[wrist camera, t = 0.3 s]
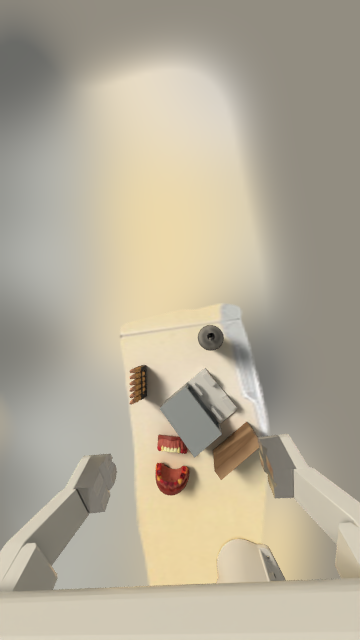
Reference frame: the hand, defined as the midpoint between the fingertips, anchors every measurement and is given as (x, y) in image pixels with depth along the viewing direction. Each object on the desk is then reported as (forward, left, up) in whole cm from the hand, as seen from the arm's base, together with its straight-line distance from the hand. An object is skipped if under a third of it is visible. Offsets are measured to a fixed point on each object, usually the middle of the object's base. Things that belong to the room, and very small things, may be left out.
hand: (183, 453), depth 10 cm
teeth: (-15, +25, -53) cm, 60 cm away
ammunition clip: (+9, +19, -53) cm, 57 cm away
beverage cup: (+5, -8, -53) cm, 54 cm away
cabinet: (-9, +8, -53) cm, 54 cm away
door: (-23, +7, -53) cm, 58 cm away
